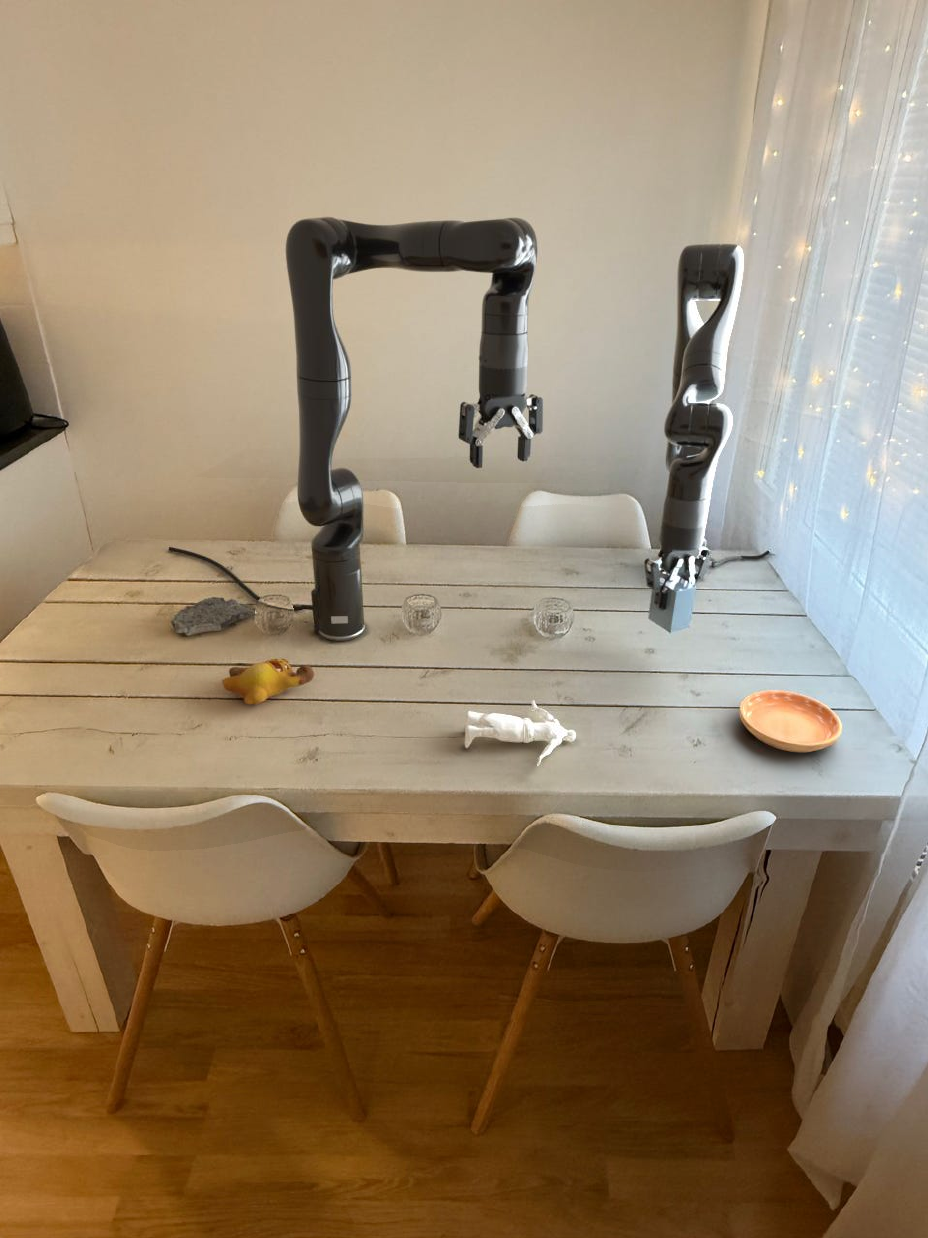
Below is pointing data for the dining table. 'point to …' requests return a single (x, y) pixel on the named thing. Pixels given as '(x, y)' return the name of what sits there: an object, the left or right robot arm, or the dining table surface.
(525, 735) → the figurine
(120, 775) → the dining table surface
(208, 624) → the stone slab
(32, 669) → the dining table surface
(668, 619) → the block
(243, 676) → the toy
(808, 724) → the saucer
